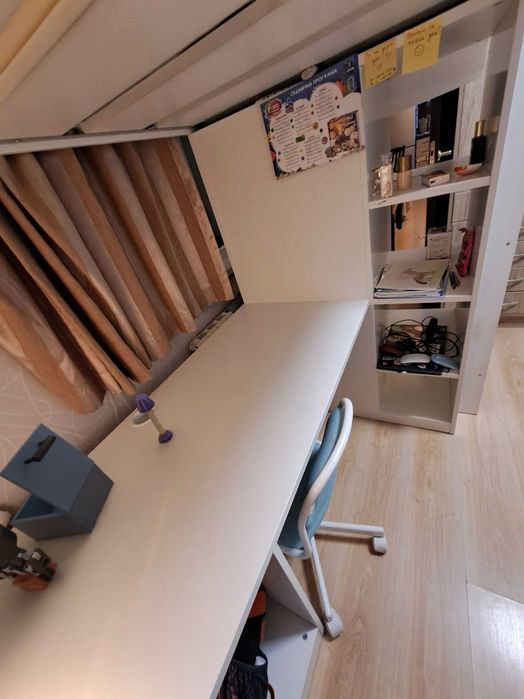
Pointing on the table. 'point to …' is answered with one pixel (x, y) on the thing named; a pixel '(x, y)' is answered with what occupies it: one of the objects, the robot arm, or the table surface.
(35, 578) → the block
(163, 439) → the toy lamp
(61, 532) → the blue storage chest
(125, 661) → the table surface
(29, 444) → the lid
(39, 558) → the robot arm
